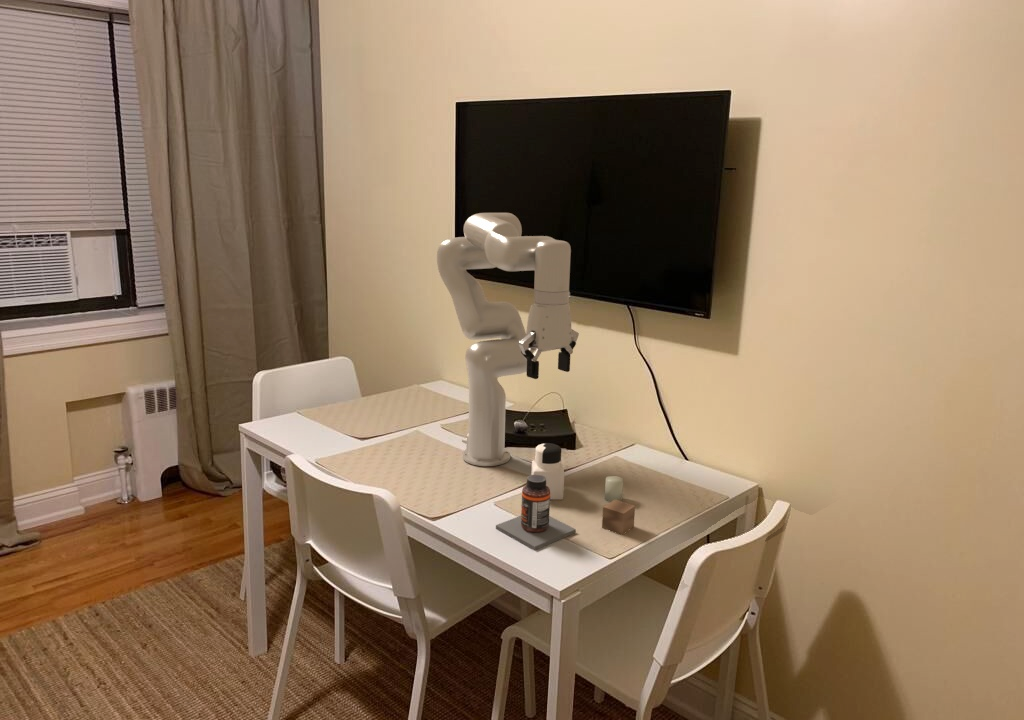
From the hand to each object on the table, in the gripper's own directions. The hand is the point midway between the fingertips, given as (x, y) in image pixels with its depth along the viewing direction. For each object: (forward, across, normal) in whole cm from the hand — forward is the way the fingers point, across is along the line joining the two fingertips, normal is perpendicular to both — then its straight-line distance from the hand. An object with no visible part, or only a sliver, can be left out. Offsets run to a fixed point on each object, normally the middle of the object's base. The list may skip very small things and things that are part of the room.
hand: (548, 374), depth 168 cm
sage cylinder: (+30, -13, +10) cm, 34 cm away
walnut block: (+30, -3, +20) cm, 37 cm away
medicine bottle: (+31, -3, -2) cm, 31 cm away
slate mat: (+30, +12, +10) cm, 34 cm away
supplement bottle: (+30, +12, +10) cm, 34 cm away
